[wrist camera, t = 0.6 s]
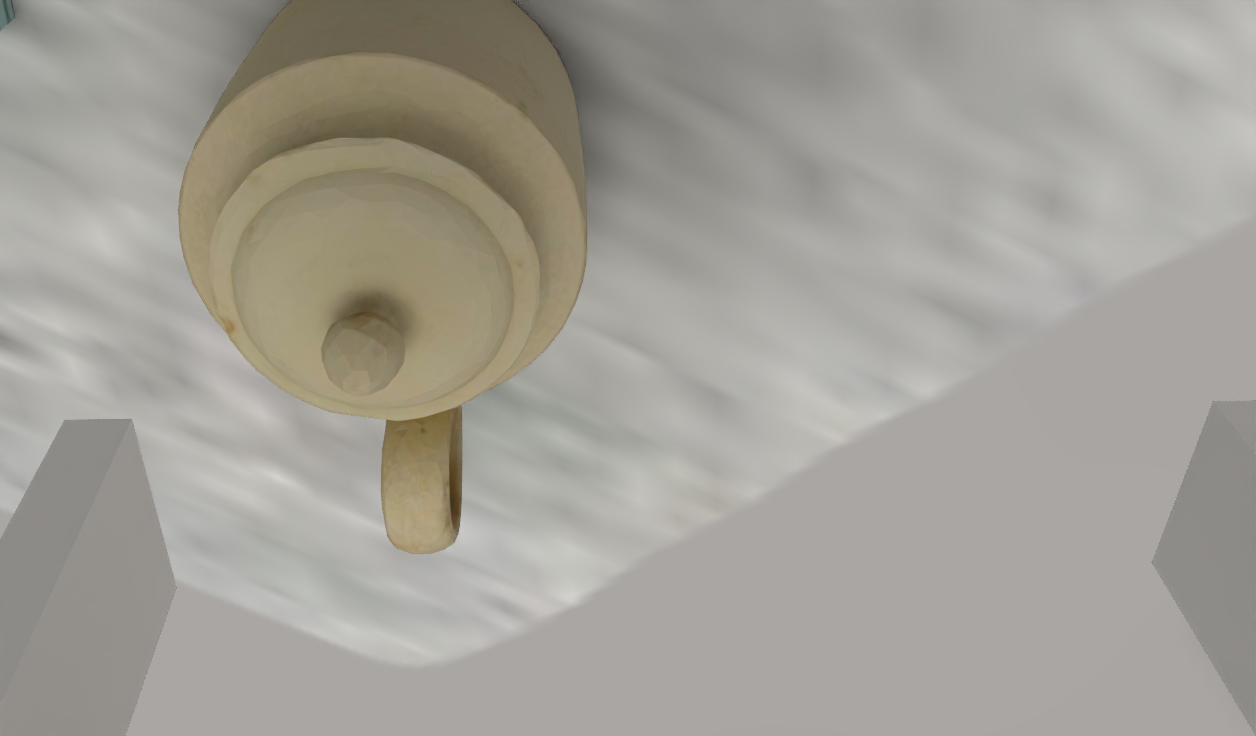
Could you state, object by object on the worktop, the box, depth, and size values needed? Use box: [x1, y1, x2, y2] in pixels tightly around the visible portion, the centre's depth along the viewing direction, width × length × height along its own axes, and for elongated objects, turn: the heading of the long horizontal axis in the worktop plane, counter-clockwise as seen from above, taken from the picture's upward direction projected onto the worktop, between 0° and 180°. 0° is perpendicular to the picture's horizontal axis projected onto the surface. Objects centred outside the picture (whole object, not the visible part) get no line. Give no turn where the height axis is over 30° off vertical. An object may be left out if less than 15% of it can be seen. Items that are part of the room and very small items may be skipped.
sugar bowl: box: [178, 0, 587, 554], centre depth 34 cm, size 15×11×15 cm
